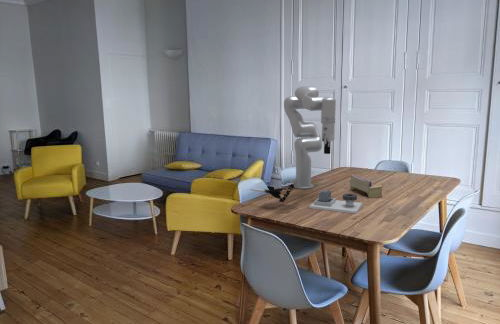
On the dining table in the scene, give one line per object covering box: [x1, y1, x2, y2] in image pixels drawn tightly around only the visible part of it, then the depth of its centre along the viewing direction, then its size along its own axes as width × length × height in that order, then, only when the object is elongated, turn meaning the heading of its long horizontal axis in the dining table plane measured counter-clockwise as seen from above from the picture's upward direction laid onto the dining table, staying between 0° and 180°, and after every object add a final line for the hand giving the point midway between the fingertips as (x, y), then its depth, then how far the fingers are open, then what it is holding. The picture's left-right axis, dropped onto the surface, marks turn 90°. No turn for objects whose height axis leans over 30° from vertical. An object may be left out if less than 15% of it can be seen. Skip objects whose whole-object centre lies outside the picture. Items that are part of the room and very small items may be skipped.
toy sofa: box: [349, 174, 383, 199], centre depth 227 cm, size 21×9×10 cm, turn 18°
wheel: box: [342, 193, 358, 202], centre depth 198 cm, size 7×7×2 cm
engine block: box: [318, 189, 332, 203], centre depth 204 cm, size 5×6×7 cm
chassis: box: [308, 197, 363, 214], centre depth 202 cm, size 24×16×6 cm, turn 63°
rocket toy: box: [249, 184, 295, 203], centre depth 204 cm, size 14×6×23 cm
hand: (327, 153), depth 214 cm, fingers closed
